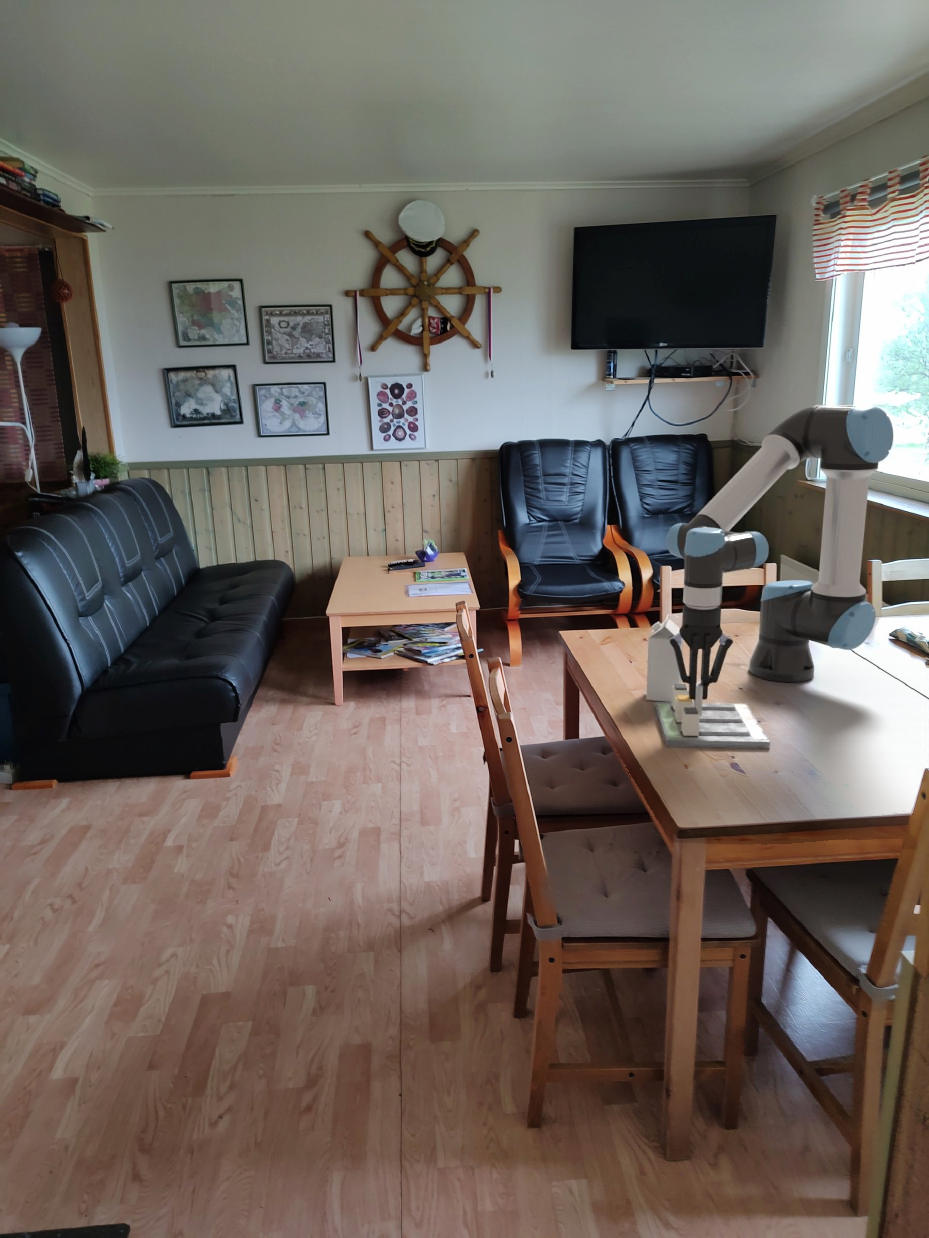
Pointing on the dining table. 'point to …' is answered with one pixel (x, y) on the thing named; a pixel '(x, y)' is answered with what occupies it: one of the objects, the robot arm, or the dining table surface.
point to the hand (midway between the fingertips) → (697, 713)
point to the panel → (714, 727)
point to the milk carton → (662, 662)
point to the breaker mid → (681, 706)
